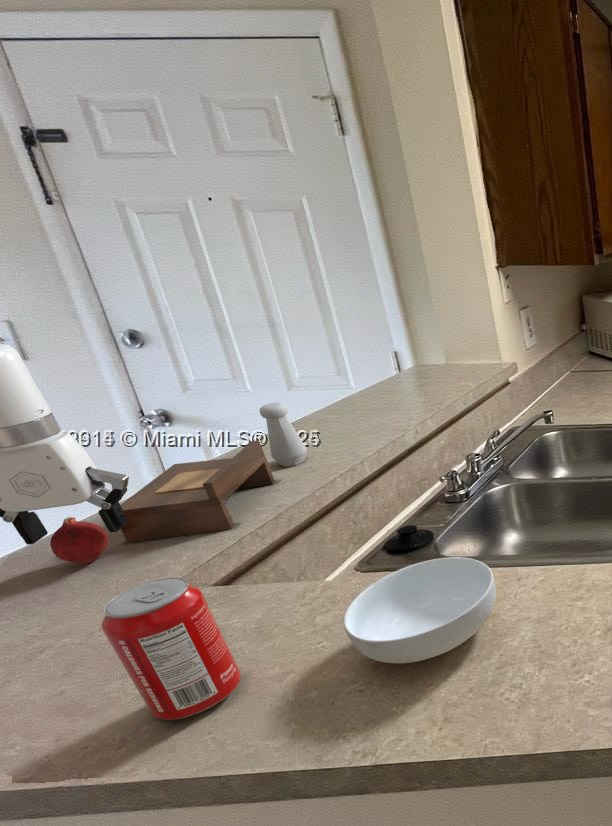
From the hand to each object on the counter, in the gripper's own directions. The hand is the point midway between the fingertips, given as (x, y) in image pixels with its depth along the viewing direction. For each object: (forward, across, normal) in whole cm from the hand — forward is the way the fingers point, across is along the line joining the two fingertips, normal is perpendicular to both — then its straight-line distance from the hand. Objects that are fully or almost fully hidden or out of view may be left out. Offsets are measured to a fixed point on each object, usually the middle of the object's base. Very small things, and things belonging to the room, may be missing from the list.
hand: (79, 533), depth 94 cm
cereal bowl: (+7, +53, -35) cm, 64 cm away
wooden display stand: (+5, +8, +14) cm, 17 cm away
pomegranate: (+5, -1, 0) cm, 5 cm away
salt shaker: (+6, +15, +32) cm, 36 cm away
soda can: (+6, +29, -38) cm, 48 cm away
